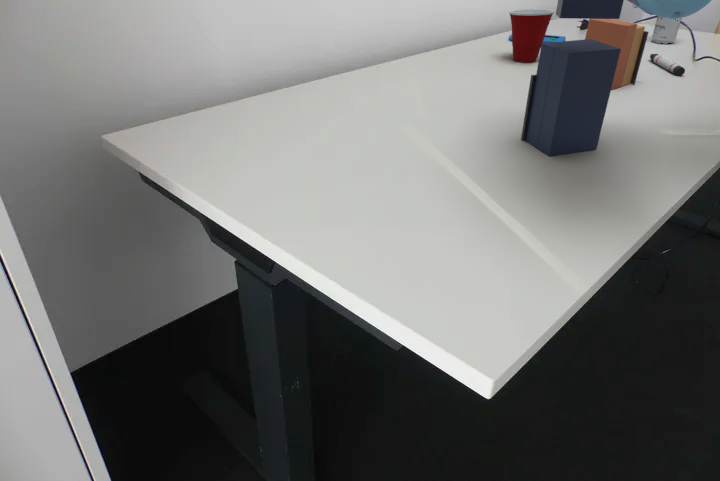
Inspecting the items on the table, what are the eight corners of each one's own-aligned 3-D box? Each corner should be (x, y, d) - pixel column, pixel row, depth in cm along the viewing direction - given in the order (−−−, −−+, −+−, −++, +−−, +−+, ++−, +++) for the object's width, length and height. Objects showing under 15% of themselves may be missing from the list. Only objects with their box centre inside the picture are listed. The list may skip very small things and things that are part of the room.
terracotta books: (613, 90, 115) (629, 26, 108) (574, 79, 122) (587, 18, 115) (634, 84, 119) (651, 21, 112) (595, 74, 126) (608, 14, 119)
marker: (683, 76, 124) (686, 67, 123) (674, 76, 124) (677, 67, 123) (653, 59, 137) (655, 51, 135) (645, 59, 137) (647, 51, 135)
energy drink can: (647, 39, 155) (662, -18, 147) (668, 39, 155) (684, -18, 147) (656, 44, 150) (673, -15, 142) (678, 44, 150) (696, -15, 142)
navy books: (599, 149, 88) (624, 48, 80) (546, 156, 86) (566, 53, 77) (570, 132, 95) (590, 37, 86) (520, 139, 92) (536, 42, 84)
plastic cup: (528, 52, 143) (535, 4, 137) (555, 62, 135) (564, 11, 128) (493, 57, 140) (499, 7, 133) (519, 67, 131) (527, 14, 125)
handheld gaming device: (513, 31, 160) (566, 35, 155) (513, 35, 161) (565, 39, 155) (507, 36, 154) (562, 41, 149) (507, 40, 155) (561, 45, 149)
